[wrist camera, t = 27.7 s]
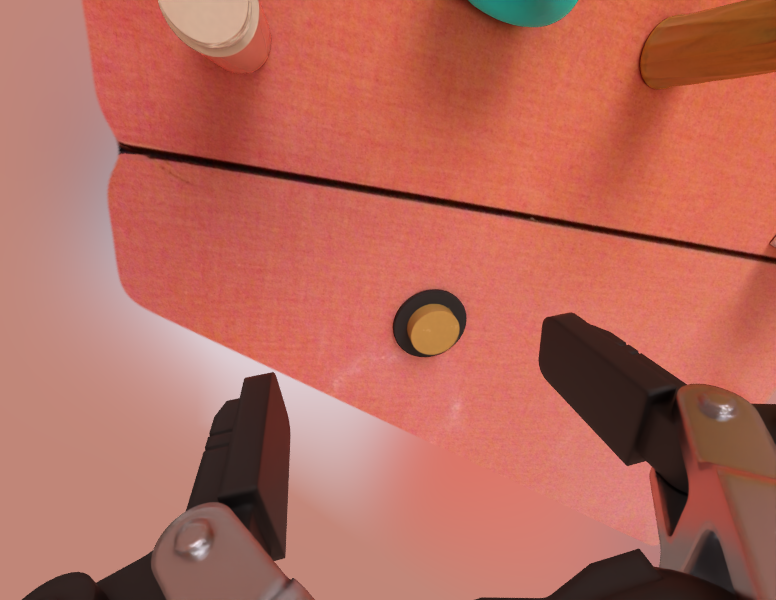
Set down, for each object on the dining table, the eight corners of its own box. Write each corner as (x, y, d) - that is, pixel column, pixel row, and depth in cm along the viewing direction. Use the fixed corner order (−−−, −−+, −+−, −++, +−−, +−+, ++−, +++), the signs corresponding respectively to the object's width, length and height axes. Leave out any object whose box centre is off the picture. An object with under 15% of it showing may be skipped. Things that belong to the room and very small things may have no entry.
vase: (634, 36, 35) (823, -13, 22) (693, 2, 34) (917, -67, 22) (642, 101, 38) (813, 90, 25) (696, 70, 37) (895, 44, 25)
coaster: (427, 366, 47) (429, 369, 46) (377, 329, 43) (378, 332, 42) (478, 317, 45) (480, 319, 45) (431, 274, 41) (433, 276, 41)
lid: (432, 293, 42) (437, 300, 40) (463, 321, 44) (469, 329, 43) (396, 329, 43) (400, 337, 41) (429, 354, 45) (433, 363, 44)
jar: (244, 90, 30) (218, 75, 21) (182, 32, 28) (121, -12, 19) (285, 34, 29) (276, -6, 20) (224, -30, 27) (182, -110, 17)
